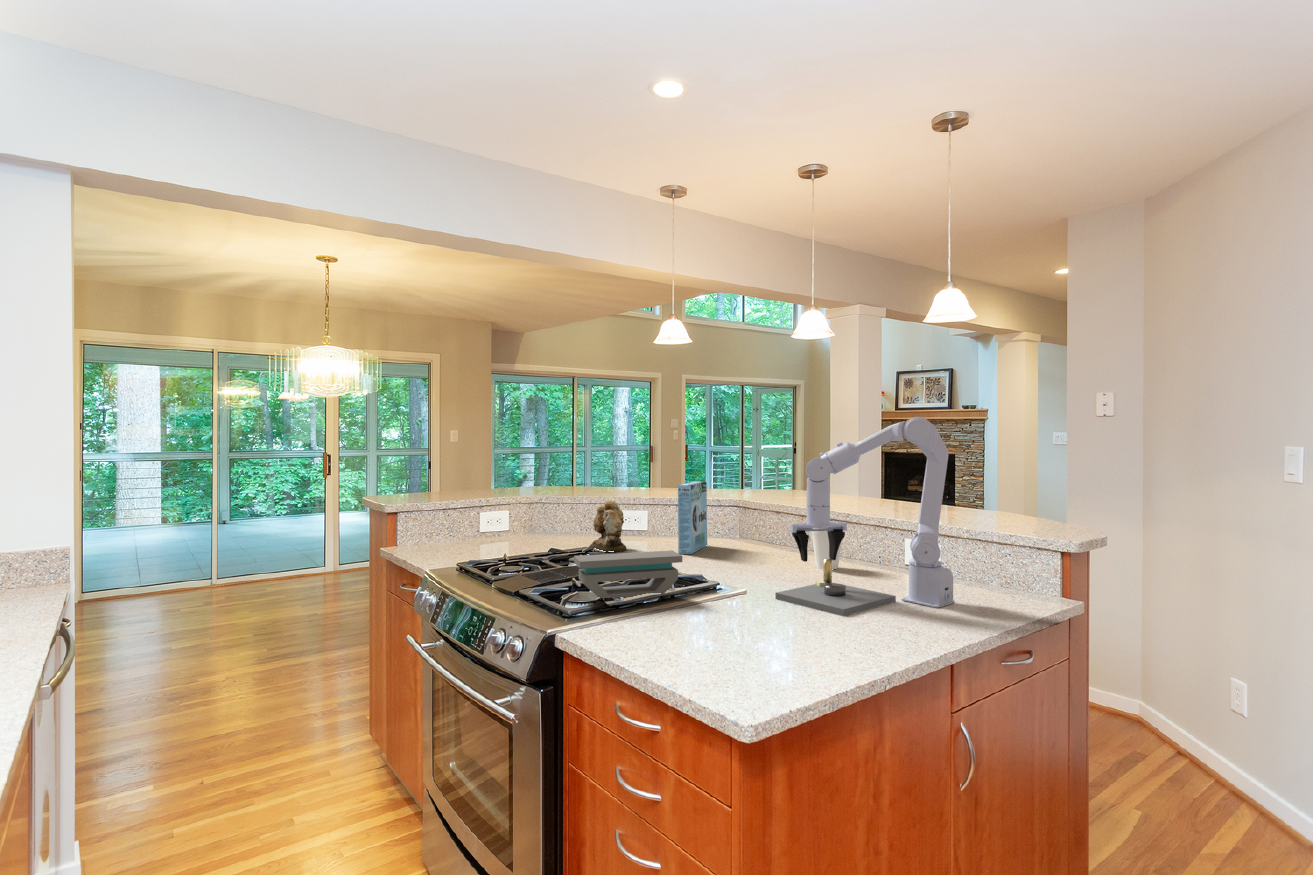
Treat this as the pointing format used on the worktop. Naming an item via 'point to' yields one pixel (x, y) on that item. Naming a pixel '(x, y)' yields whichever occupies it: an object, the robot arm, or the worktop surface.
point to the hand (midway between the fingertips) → (818, 560)
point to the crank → (829, 587)
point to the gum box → (692, 517)
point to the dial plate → (835, 599)
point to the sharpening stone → (628, 572)
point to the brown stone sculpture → (609, 527)
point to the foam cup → (823, 549)
